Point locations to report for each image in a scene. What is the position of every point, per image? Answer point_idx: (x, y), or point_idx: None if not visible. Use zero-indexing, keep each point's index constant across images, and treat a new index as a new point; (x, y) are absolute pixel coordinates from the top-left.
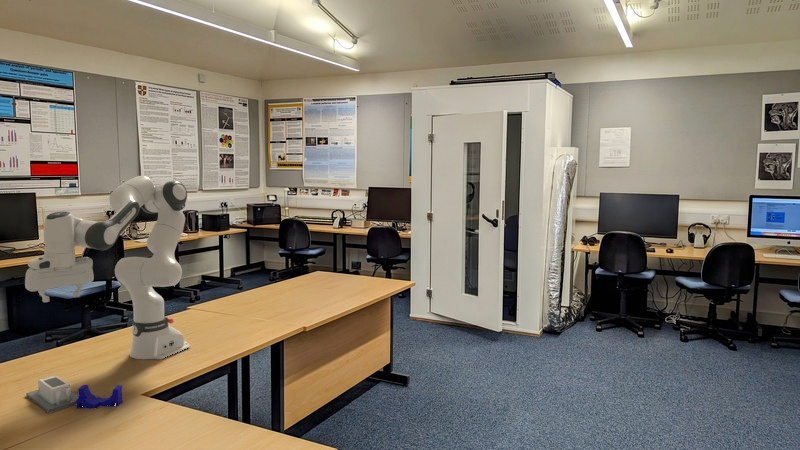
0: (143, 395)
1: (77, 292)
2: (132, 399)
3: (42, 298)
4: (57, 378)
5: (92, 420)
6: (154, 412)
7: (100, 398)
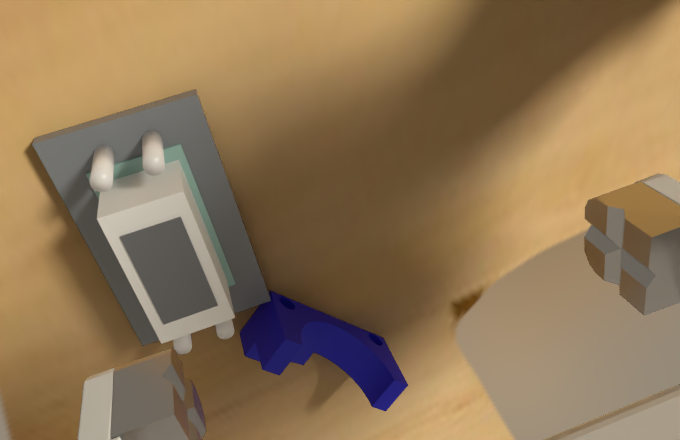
0: (454, 315)
1: (676, 299)
2: (415, 331)
3: (82, 424)
4: (187, 237)
5: (274, 421)
6: (434, 424)
7: (326, 327)
